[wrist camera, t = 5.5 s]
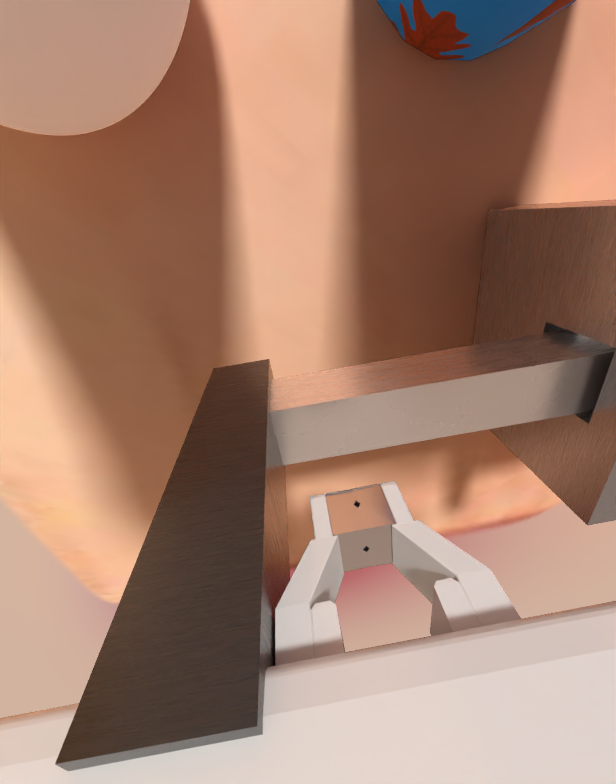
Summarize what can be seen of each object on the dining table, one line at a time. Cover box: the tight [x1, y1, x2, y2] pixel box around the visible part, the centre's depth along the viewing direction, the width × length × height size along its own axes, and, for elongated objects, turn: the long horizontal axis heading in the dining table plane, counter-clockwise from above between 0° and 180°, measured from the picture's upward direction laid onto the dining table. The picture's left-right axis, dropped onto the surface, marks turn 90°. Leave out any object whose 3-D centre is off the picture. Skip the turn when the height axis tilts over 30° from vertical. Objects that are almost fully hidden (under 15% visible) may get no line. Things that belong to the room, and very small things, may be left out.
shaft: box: [55, 329, 616, 771], centre depth 12 cm, size 20×4×14 cm, turn 98°
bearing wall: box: [473, 200, 616, 525], centre depth 17 cm, size 2×14×12 cm, turn 8°
